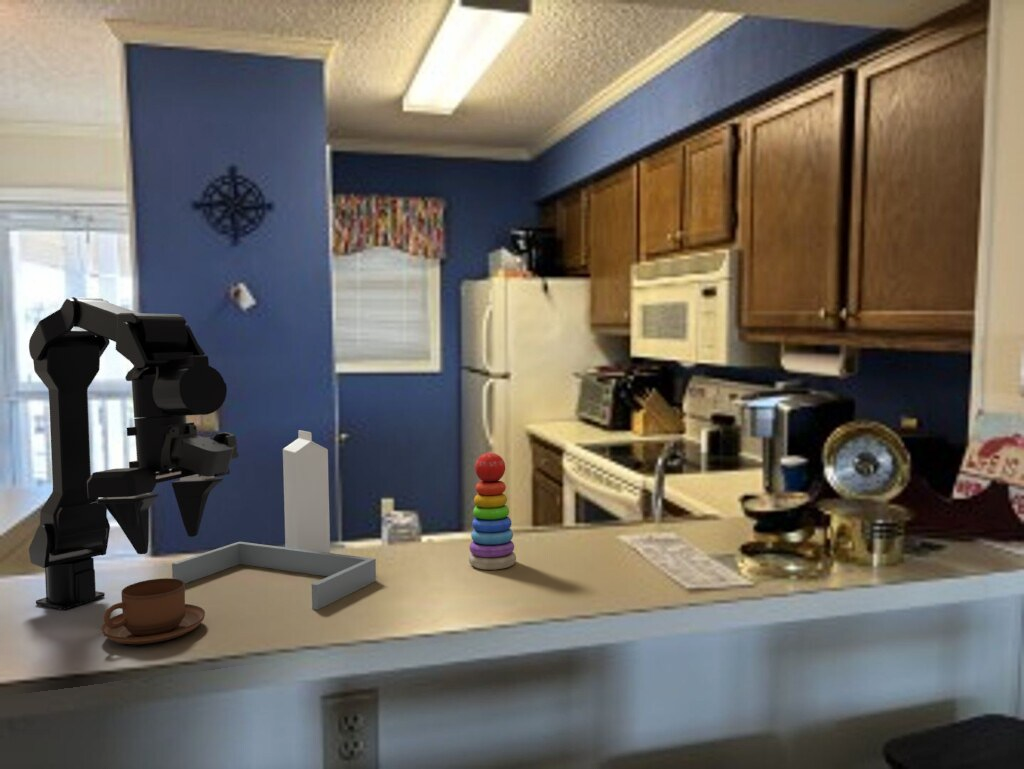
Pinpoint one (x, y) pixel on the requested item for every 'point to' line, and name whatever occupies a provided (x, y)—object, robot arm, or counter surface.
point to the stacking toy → (491, 517)
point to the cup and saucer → (152, 613)
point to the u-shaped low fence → (286, 567)
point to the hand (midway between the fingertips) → (168, 544)
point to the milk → (306, 495)
